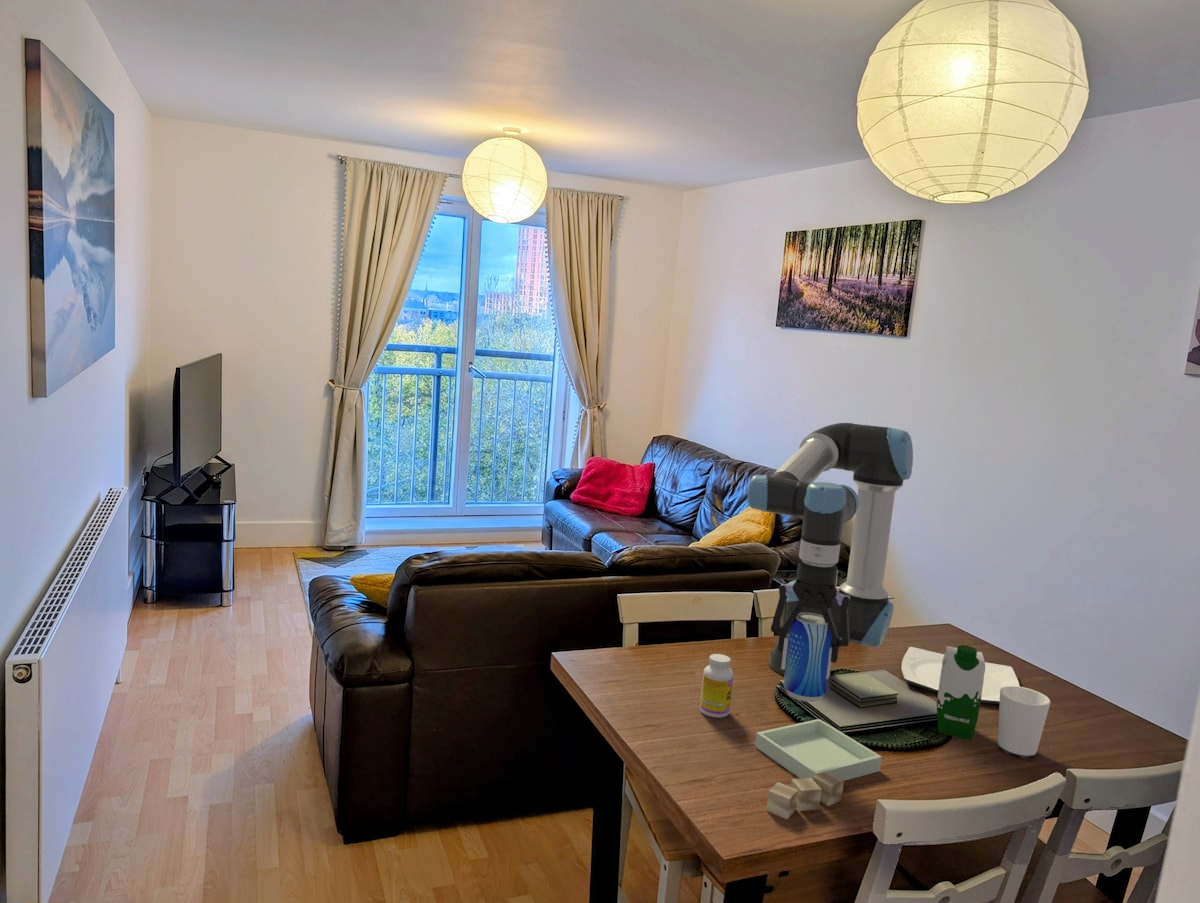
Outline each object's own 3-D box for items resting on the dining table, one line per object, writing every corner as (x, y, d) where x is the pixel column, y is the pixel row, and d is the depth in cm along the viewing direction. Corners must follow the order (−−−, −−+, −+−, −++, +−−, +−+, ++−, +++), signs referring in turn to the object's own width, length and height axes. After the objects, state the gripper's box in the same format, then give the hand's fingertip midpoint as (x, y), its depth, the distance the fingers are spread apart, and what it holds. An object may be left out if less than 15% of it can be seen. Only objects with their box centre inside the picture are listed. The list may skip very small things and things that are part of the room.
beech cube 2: (808, 797, 162) (811, 777, 161) (819, 809, 158) (821, 789, 157) (789, 799, 161) (791, 779, 160) (799, 811, 157) (801, 790, 156)
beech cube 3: (775, 802, 159) (777, 781, 159) (795, 810, 157) (798, 789, 156) (766, 811, 156) (768, 790, 155) (787, 819, 154) (789, 798, 153)
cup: (1039, 767, 181) (1048, 709, 179) (988, 752, 186) (996, 696, 184) (1043, 749, 189) (1052, 694, 187) (995, 735, 194) (1003, 681, 192)
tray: (817, 732, 189) (819, 718, 188) (879, 771, 174) (881, 756, 173) (754, 746, 180) (756, 732, 179) (814, 788, 165) (816, 773, 164)
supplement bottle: (728, 721, 191) (734, 665, 189) (698, 716, 192) (703, 661, 190) (730, 708, 197) (735, 654, 195) (701, 703, 198) (706, 650, 197)
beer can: (778, 684, 178) (786, 609, 175) (818, 686, 178) (826, 611, 176) (789, 702, 170) (798, 624, 167) (831, 704, 170) (840, 626, 168)
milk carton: (934, 734, 192) (946, 648, 189) (932, 717, 201) (944, 635, 198) (976, 743, 189) (990, 656, 186) (973, 726, 198) (986, 642, 195)
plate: (897, 689, 216) (898, 679, 216) (903, 653, 243) (904, 643, 242) (1023, 717, 206) (1025, 706, 206) (1015, 675, 232) (1016, 666, 232)
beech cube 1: (823, 790, 165) (826, 770, 164) (841, 800, 162) (843, 780, 161) (810, 796, 162) (813, 776, 162) (828, 806, 159) (830, 786, 159)
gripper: (762, 557, 170) (750, 667, 174) (871, 575, 163) (856, 690, 166) (769, 548, 177) (758, 654, 181) (874, 566, 170) (860, 676, 173)
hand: (805, 671), depth 173 cm, fingers closed on beer can, 8 cm apart
